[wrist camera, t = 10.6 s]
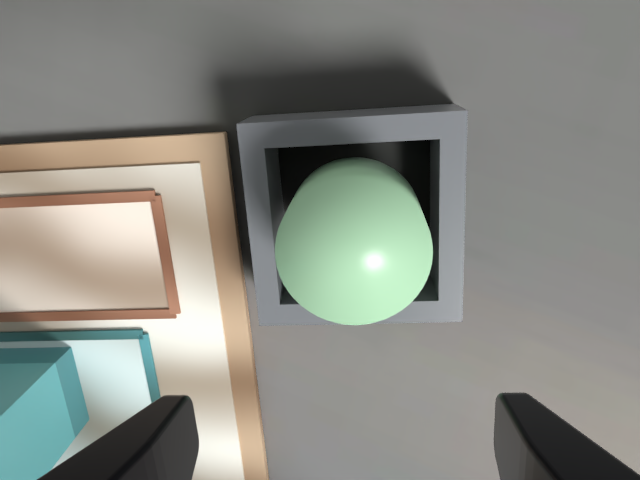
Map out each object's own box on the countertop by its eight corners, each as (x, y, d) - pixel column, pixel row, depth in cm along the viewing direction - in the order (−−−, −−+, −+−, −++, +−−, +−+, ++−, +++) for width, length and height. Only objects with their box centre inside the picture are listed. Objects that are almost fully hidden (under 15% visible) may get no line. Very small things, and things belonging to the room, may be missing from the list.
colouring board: (273, 518, 24) (271, 529, 24) (-23, 513, 26) (-32, 524, 25) (226, 131, 19) (222, 133, 18) (-152, 153, 20) (-168, 155, 20)
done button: (421, 281, 18) (432, 323, 15) (294, 285, 18) (281, 326, 15) (421, 153, 16) (433, 173, 14) (283, 160, 17) (267, 181, 14)
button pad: (450, 290, 20) (462, 321, 18) (271, 295, 21) (259, 325, 18) (454, 103, 18) (467, 110, 15) (252, 115, 18) (236, 123, 16)
